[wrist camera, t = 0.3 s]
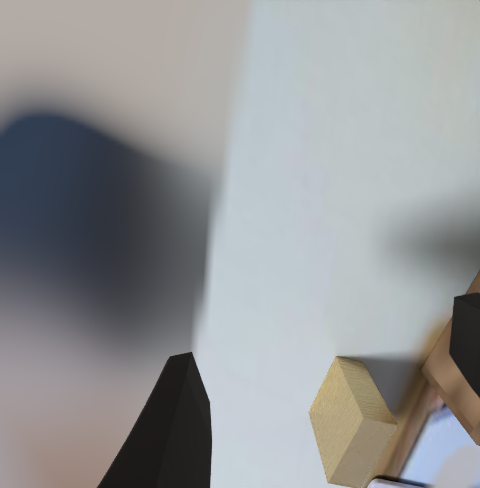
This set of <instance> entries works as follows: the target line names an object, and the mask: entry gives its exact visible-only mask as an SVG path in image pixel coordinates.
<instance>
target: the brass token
mask: <svg viewBox="0 0 480 488" xmlns="http://www.w3.org/2000/svg"><path fill="white" fill-rule="evenodd" d="M309 416H310V419H311V423H312V427H313V430H314V434H315V438H316V442H317V445H318V449H319V453H320V456H321V460H322V464H323V467H324V471H325V475H326V478H327V482H328V483H330V484H336V485H341V486H346V487H351V488H361V486H362V485H363V483H364V481H365V480H366V478H367V476H368V475H369V473H370V471H371V470H372V468H373V466H374V465H375V463H376V461H377V460H378V458H379V457H380V455H381V453H382V452H383V450H384V448H385V447H386V445H387V443H388V442H389V440H390V438H391V437H392V435H393V433H394V432H395V430H396V428H397V427H398V425H397V423H396V421H395V419H394V418H393V416H392V414H391V412H390V410H389V409H388V407H387V405H386V403H385V401H384V400H383V398H382V396H381V394H380V392H379V391H378V389H377V387H376V385H375V383H374V381H373V380H372V378H371V376H370V374H369V372H368V371H367V369H366V367H365V365H364V363H362V362H358V361H353V360H349V359H345V358H341V357H337V356H335V359H334V361H333V363H332V365H331V367H330V369H329V371H328V373H327V375H326V377H325V379H324V381H323V384H322V386H321V388H320V390H319V392H318V394H317V396H316V398H315V400H314V402H313V404H312V406H311V408H310V411H309Z"/></svg>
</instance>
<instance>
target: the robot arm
mask: <svg viewBox="0 0 480 488" xmlns="http://www.w3.org/2000/svg"><path fill="white" fill-rule="evenodd" d="M449 354H450V356H451V358H452V359H453V361H454V362H455V364H456V366H457V367H458V369H459V370H460V372H461V373H462V375H463V376H464V378H465V379H466V381H467V382H468V384H469V385H470V387H471V388H472V389H473V391H474V392H475V393H476V394H477V396H478V397H479V398H480V293H478V292H476V293H471V294H466V295H462V296H457V297H454V306H453V316H452V326H451V336H450V346H449ZM211 455H212V430H211V413H210V401H209V399H208V396H207V393H206V390H205V387H204V385H203V382H202V379H201V376H200V373H199V371H198V368H197V365H196V362H195V359H194V357H193V354H192V352H189V353H184V354H180V355H175V356H170V357H169V359H168V360H167V362H166V364H165V366H164V368H163V370H162V372H161V374H160V377H159V379H158V381H157V383H156V385H155V387H154V389H153V391H152V393H151V395H150V397H149V398H148V400H147V402H146V405H145V406H144V408H143V410H142V412H141V414H140V415H139V417H138V419H137V421H136V423H135V425H134V427H133V428H132V431H131V432H130V434H129V436H128V438H127V439H126V441H125V443H124V444H123V446H122V448H121V449H120V451H119V453H118V454H117V456H116V458H115V459H114V461H113V463H112V464H111V466H110V468H109V469H108V471H107V473H106V475H105V476H104V478H103V479H102V481H101V482H100V484H99V485H98V487H97V488H210V477H211ZM367 488H423V487H418V486H413V485H408V484H403V483H398V482H393V481H388V480H383V479H374V480H372V481H371V482H370V484H369V486H368V487H367Z"/></svg>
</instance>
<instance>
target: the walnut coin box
mask: <svg viewBox="0 0 480 488" xmlns="http://www.w3.org/2000/svg"><path fill="white" fill-rule="evenodd" d="M476 292H478V293H480V271H479V272H478V274H477V276H476V278H475V279H474V281H473V283H472V284H471V286H470V288H469V289H468V291H467V293H466V294H471V293H476ZM466 294H465V295H466ZM451 326H452V318H451V320H450V321H449V323H448V325H447V327H446V328H445V330H444V332H443V333H442V335H441V337H440V338H439V340H438V342H437V343H436V345H435V347H434V349H433V350H432V352H431V354H430V355H429V357H428V359H427V360H426V362H425V364H424V365H423V367H422V369H421V370H420V371H421V372H422V373H423V375H424V376H425V377H426V379H427V380H428V381H429V383H430V384H431V385H432V387H433V388H434V389H435V391H436V392H437V393H438V395H439V396H440V397H441V398H442V400H443V401H444V402H445V404H446V405H447V406H448V408H449V409H450V410H451V412H452V413H453V414H454V416H455V417H456V418H457V420H458V421H459V422H460V423H461V425H462V426H463V427H464V429H465V430H466V431H467V433H468V434H469V435H470V437H471V438H472V439H473V441H474V442H475V443H476V445H479V446H480V398H479V397H478V396H477V394H476V393H475V392H474V391H473V389H472V388H471V387H470V385H469V384H468V382H467V381H466V379H465V378H464V376H463V375H462V373H461V372H460V370H459V369H458V367H457V366H456V364H455V362H454V361H453V359H452V358H451V356H450V354H449V346H450V336H451Z"/></svg>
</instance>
